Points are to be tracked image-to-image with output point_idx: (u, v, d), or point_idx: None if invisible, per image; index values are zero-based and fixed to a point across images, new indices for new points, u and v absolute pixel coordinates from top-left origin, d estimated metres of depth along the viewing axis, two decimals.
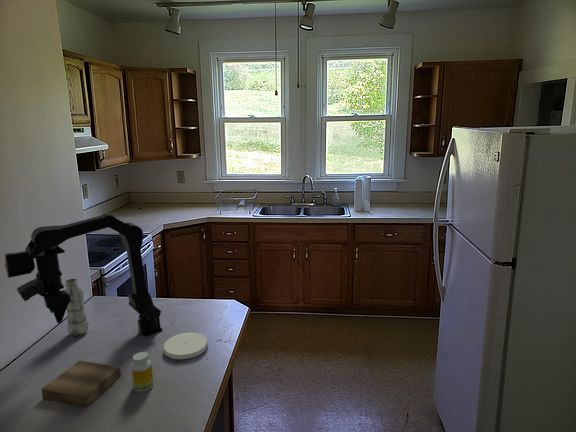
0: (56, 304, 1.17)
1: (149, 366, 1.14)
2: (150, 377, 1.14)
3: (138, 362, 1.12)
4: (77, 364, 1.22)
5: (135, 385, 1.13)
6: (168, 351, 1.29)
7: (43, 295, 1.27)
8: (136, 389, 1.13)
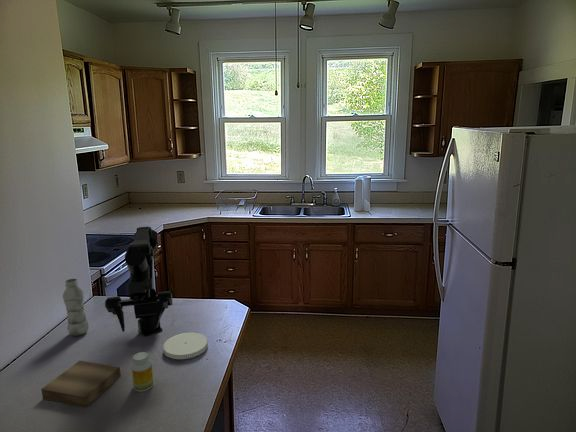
0: (171, 299, 1.26)
1: (149, 366, 1.14)
2: (150, 377, 1.14)
3: (138, 362, 1.12)
4: (77, 364, 1.22)
5: (135, 385, 1.13)
6: (168, 351, 1.29)
7: (121, 309, 1.21)
8: (136, 389, 1.13)
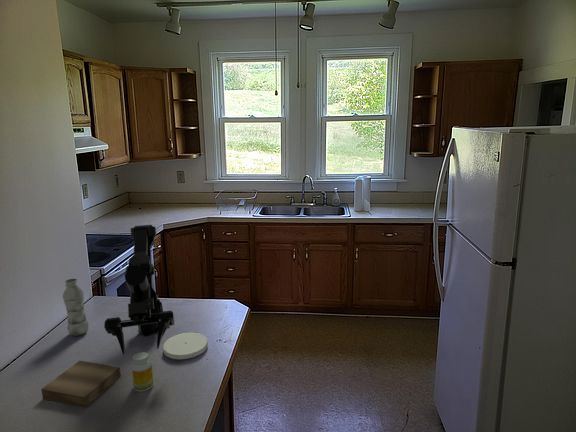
0: (173, 319, 1.22)
1: (149, 366, 1.14)
2: (150, 377, 1.14)
3: (138, 362, 1.12)
4: (77, 364, 1.22)
5: (135, 385, 1.13)
6: (168, 351, 1.29)
7: (121, 330, 1.16)
8: (136, 389, 1.13)
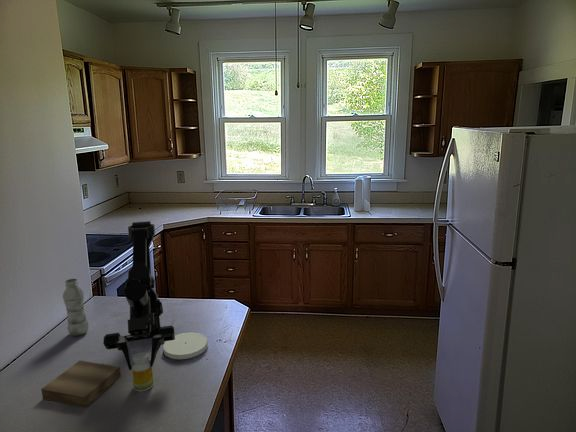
0: (174, 334, 1.19)
1: (149, 366, 1.14)
2: (150, 377, 1.14)
3: (138, 362, 1.12)
4: (77, 364, 1.22)
5: (135, 385, 1.13)
6: (168, 351, 1.29)
7: (127, 346, 1.14)
8: (136, 389, 1.13)
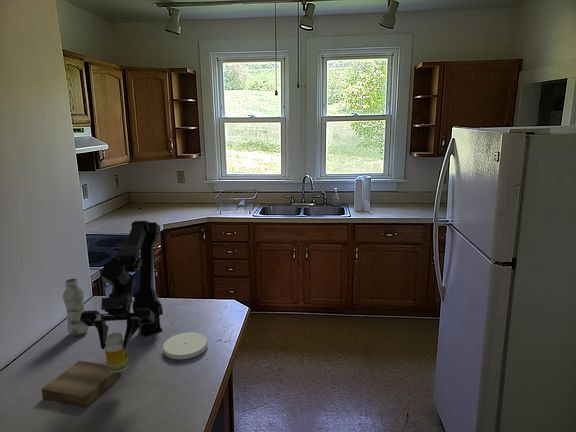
0: (151, 317, 1.15)
1: (122, 347, 1.11)
2: (123, 359, 1.12)
3: (110, 342, 1.10)
4: (77, 364, 1.22)
5: (108, 365, 1.11)
6: (167, 351, 1.29)
7: (102, 324, 1.12)
8: (109, 370, 1.11)
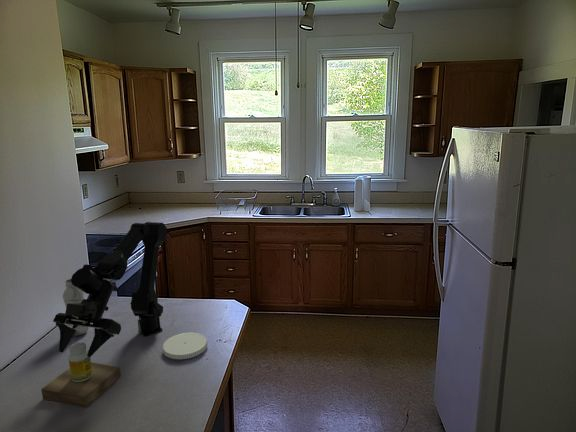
0: (113, 329, 1.13)
1: (82, 359, 1.12)
2: (84, 370, 1.13)
3: (71, 352, 1.12)
4: None
5: None
6: (167, 351, 1.29)
7: (65, 328, 1.15)
8: None
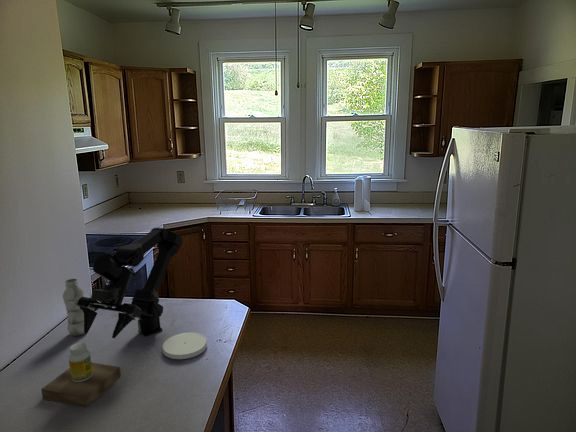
0: (135, 313, 1.23)
1: (82, 359, 1.12)
2: (84, 370, 1.13)
3: (71, 352, 1.12)
4: None
5: (71, 374, 1.14)
6: (167, 351, 1.29)
7: (88, 311, 1.24)
8: None
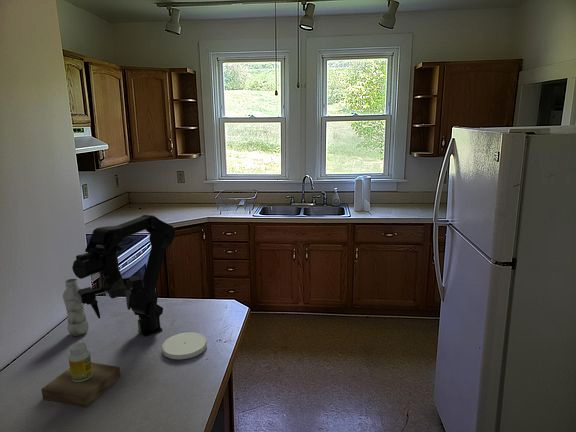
0: None
1: (82, 359, 1.12)
2: (84, 370, 1.13)
3: (71, 352, 1.12)
4: None
5: (71, 374, 1.14)
6: (167, 351, 1.29)
7: None
8: None
